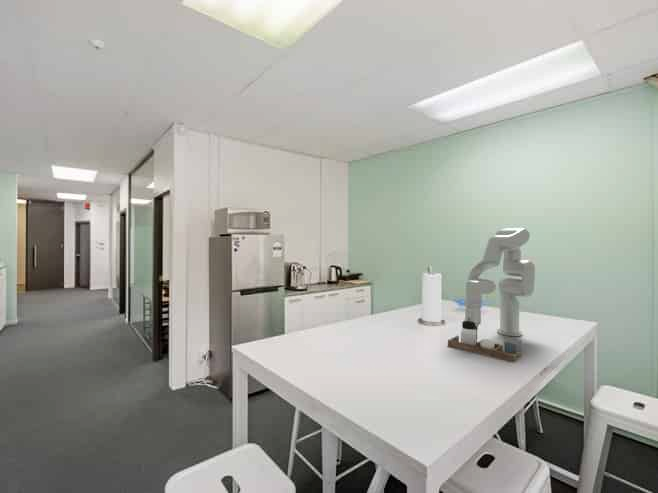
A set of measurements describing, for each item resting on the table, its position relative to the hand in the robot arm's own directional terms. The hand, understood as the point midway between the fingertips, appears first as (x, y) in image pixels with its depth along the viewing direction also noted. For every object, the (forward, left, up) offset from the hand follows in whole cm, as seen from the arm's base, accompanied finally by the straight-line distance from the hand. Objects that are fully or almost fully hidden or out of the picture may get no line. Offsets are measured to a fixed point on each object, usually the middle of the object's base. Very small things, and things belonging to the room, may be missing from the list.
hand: (473, 338), depth 165 cm
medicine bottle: (+7, 0, -2) cm, 7 cm away
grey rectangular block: (+2, +19, -1) cm, 19 cm away
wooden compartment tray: (+11, +8, -2) cm, 14 cm away
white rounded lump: (+11, +10, -2) cm, 15 cm away
